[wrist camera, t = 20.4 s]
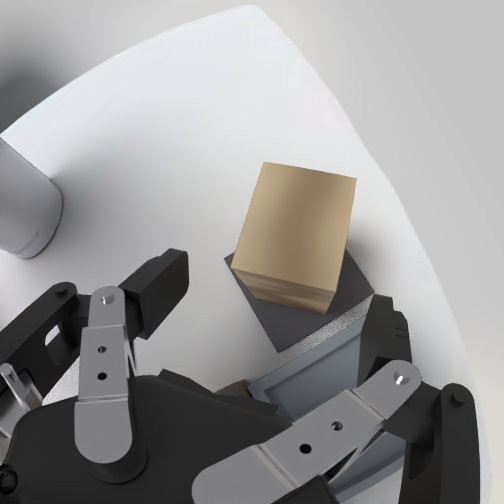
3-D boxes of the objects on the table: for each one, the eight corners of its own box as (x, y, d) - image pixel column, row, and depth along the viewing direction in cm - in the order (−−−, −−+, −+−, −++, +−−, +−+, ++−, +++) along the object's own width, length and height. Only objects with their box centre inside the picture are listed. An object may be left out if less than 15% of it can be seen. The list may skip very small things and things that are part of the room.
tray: (250, 384, 21) (246, 386, 19) (372, 310, 21) (376, 306, 20) (324, 501, 17) (325, 510, 16) (441, 428, 17) (449, 432, 16)
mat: (224, 259, 24) (223, 258, 24) (314, 206, 24) (314, 205, 24) (278, 352, 21) (277, 352, 21) (373, 292, 21) (374, 291, 21)
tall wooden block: (256, 297, 22) (230, 267, 15) (277, 221, 24) (263, 161, 17) (325, 314, 21) (335, 291, 14) (342, 235, 23) (356, 178, 15)
